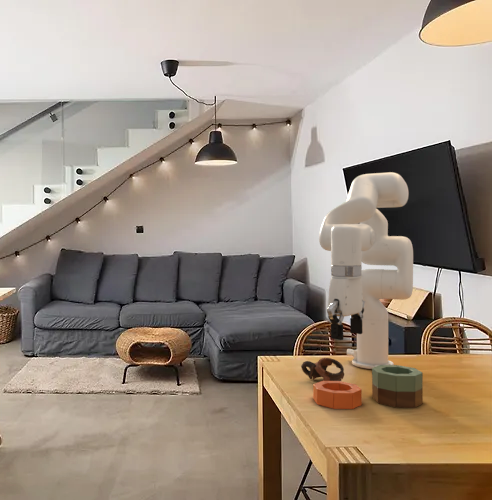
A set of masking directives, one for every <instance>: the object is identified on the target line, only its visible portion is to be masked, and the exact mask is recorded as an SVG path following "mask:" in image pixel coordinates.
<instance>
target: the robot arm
mask: <svg viewBox="0 0 492 500" xmlns="http://www.w3.org/2000/svg"><path fill="white" fill-rule="evenodd" d="M409 193H410V192H409V187H408V184H407V182H406V181H405V179H404V178H403V177H402V175H401V174H400V173H397V172H393V171H392V172H391V171H389V172H376V173H375V172H374V173H365V174H364V173H363V174H360V175H358V176H356V177H355V178H354V179H353V180H352V182H351V185H350V188H349V191H348V194H347V198H346V200H345V201H344V202H342V203H340V204H339V205H337V206H336V207H333V208H332V209H331V210H330V211H329V212H328V213H326V215H325V217H324V218H323V221H322V223H321V226H320V230H319V234H318V241H319V245H320V247H321V248H322V249H323V250H325V251H327V252H330V274H331V275H330V277H331V278H330V279H329V280H330V281H329V285H328V300H327V309H326V312H327V317H328V320H329V324H330V338H331V339H332V340H337V341H343V340H344V324H342V323H343V321H344V319H345V317H349V316H350V319H349V331H350V334H356V349H351V348H347V349H346V356H349V357H353V359H351V364H352V365H353V366H354V367H358V368H361V369H367V370H372V368H374V367H376V366H379V365H395V363H394V362H393V361H391V360H389V311H388V309H387V307H386V306H385V305H384V303H383V302H381V300H408V299H410V298H411V297H412V295H413V289H414V248H413V244H412V241H411V239H410V238H408V237H407V236H402V235H398V236H397V235H391V236H390V235H389V234H388V233H389V230H388V229H389V223H388V222H389V221H388V220H387V218H386V217H385V215H384V214H383V213H382V212H381V211H380V210H379V209H381V208H382V209H383V208H386V209H387V208H401V207H404V206H405V205H406V204H407V203H408V200H409V195H410V194H409ZM362 264H365V265H368V266H393V267H396V268H397V269H384V268H366V269H365V268H364V269H362V267H363V265H362Z"/></svg>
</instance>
